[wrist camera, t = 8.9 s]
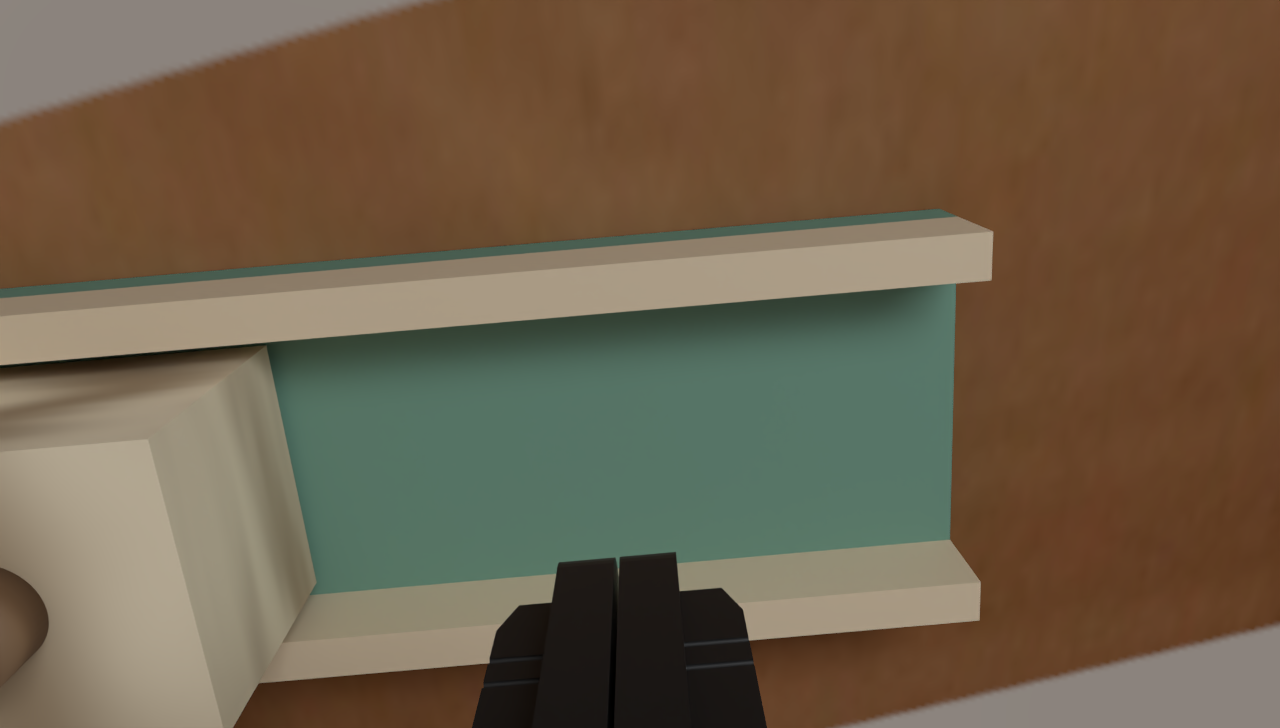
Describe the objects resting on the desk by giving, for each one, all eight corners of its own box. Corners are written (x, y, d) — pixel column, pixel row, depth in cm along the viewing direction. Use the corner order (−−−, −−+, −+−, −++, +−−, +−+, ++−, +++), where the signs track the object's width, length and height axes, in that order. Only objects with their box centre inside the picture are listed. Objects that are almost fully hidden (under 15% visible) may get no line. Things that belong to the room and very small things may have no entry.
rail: (938, 208, 22) (1062, 261, 16) (932, 551, 24) (1036, 706, 18) (-90, 296, 21) (-355, 382, 16) (20, 630, 24) (-171, 811, 18)
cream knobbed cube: (266, 345, 21) (109, 469, 14) (316, 582, 22) (198, 787, 16) (-49, 372, 20) (-348, 508, 14) (27, 607, 22) (-207, 822, 16)
